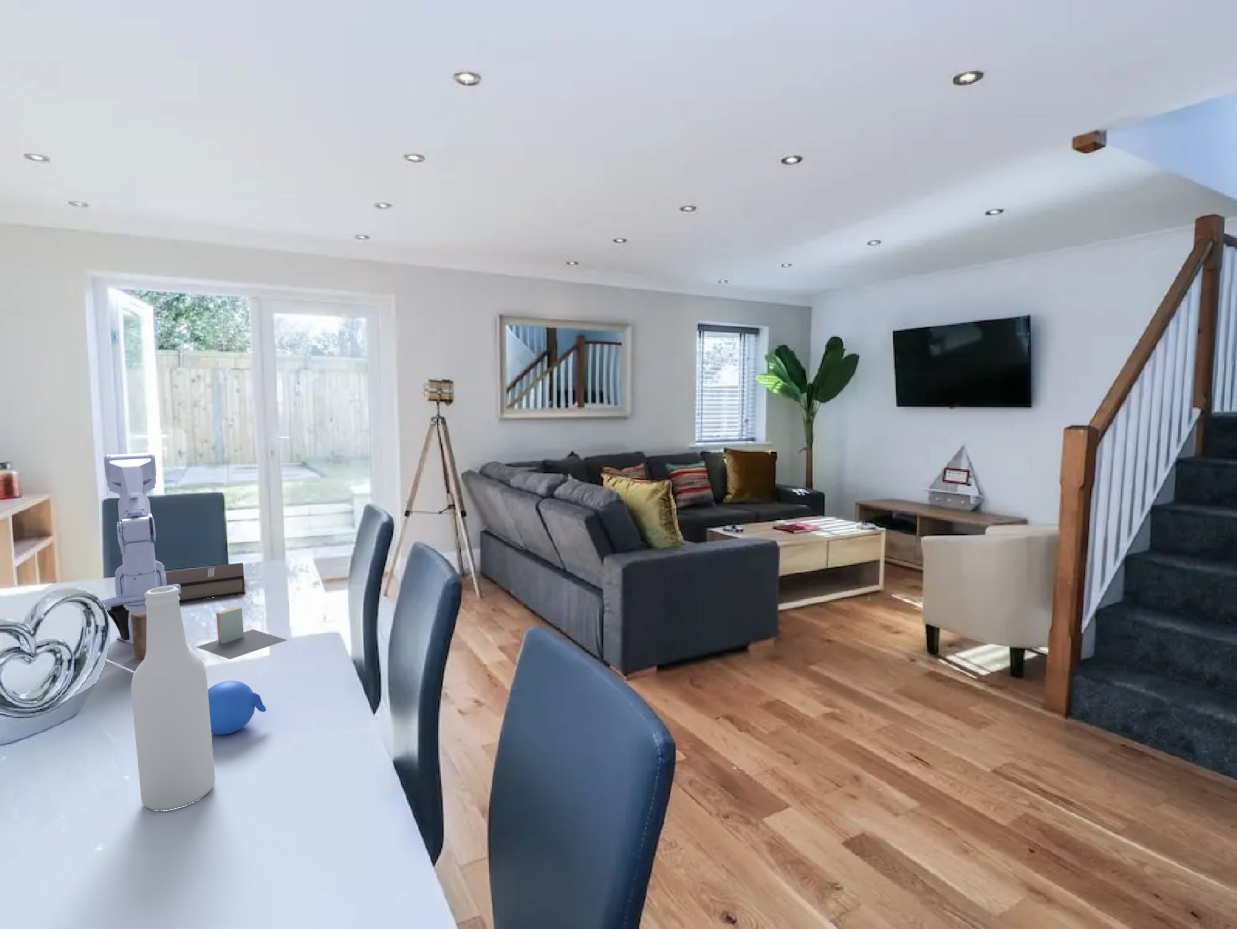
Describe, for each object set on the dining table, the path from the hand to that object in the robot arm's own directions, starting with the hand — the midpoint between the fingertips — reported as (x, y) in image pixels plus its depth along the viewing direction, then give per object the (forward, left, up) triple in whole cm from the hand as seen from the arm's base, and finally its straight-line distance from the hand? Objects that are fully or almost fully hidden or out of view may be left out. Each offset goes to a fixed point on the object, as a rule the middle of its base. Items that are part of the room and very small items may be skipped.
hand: (145, 633), depth 146 cm
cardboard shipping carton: (0, 0, -6) cm, 6 cm away
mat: (+10, +15, -6) cm, 19 cm away
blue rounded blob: (+47, -7, -6) cm, 48 cm away
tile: (+5, +15, -5) cm, 17 cm away
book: (-45, +30, -6) cm, 55 cm away
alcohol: (+61, -22, -6) cm, 65 cm away
